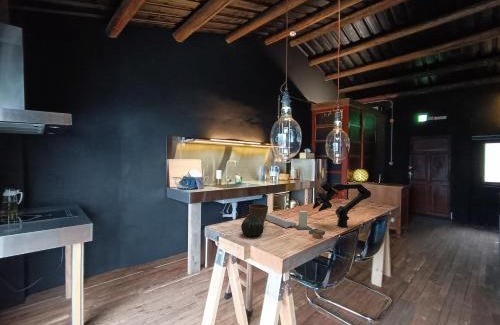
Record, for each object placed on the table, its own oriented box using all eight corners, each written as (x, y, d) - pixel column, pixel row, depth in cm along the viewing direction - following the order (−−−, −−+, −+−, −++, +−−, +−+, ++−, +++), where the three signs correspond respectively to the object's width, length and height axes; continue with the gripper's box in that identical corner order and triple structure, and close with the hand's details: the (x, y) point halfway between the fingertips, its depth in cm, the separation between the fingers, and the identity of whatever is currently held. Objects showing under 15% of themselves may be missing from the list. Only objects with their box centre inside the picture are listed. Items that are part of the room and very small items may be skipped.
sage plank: (304, 226, 193) (304, 210, 192) (306, 227, 189) (307, 211, 188) (298, 226, 191) (298, 210, 191) (300, 227, 188) (301, 212, 187)
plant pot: (267, 224, 197) (268, 204, 197) (267, 230, 182) (267, 208, 182) (249, 223, 199) (249, 203, 198) (247, 228, 184) (247, 207, 184)
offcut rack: (316, 231, 182) (316, 228, 182) (325, 233, 176) (325, 231, 176) (308, 233, 177) (308, 230, 177) (317, 236, 171) (317, 233, 171)
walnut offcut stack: (316, 236, 172) (316, 229, 172) (322, 238, 168) (323, 231, 168) (312, 237, 168) (312, 231, 168) (318, 239, 165) (318, 232, 164)
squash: (266, 231, 161) (262, 210, 170) (243, 233, 158) (241, 212, 167) (262, 240, 171) (259, 220, 181) (241, 242, 168) (238, 221, 178)
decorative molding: (270, 219, 221) (260, 218, 216) (271, 214, 222) (262, 212, 217) (295, 229, 192) (285, 227, 187) (296, 223, 192) (286, 221, 187)
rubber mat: (306, 225, 196) (306, 224, 196) (312, 229, 186) (312, 228, 186) (293, 226, 194) (293, 225, 194) (298, 230, 184) (298, 229, 184)
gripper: (316, 186, 202) (303, 200, 200) (328, 190, 184) (314, 205, 182) (325, 196, 204) (312, 210, 202) (338, 200, 186) (324, 215, 184)
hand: (315, 209), depth 193 cm, fingers open, 9 cm apart
